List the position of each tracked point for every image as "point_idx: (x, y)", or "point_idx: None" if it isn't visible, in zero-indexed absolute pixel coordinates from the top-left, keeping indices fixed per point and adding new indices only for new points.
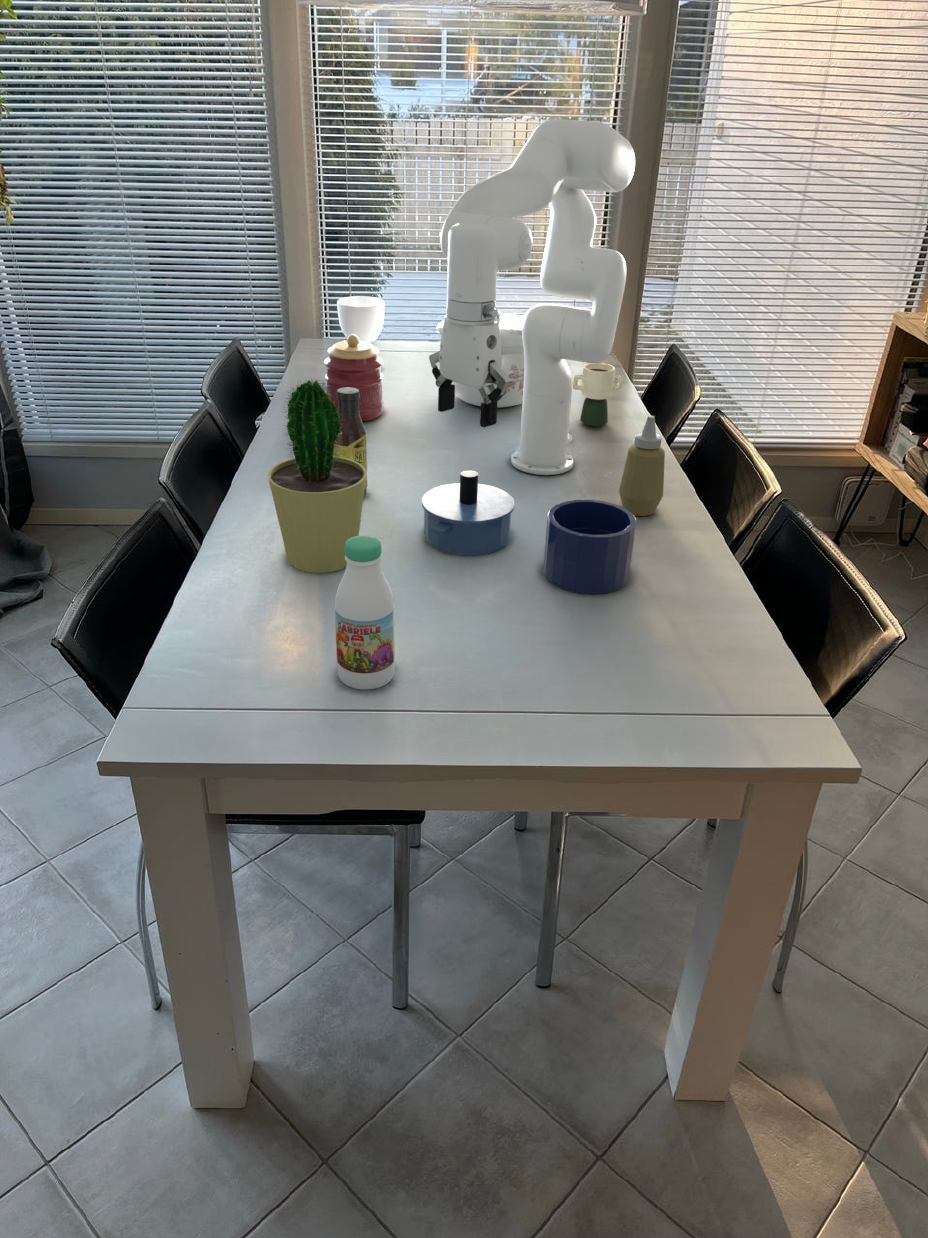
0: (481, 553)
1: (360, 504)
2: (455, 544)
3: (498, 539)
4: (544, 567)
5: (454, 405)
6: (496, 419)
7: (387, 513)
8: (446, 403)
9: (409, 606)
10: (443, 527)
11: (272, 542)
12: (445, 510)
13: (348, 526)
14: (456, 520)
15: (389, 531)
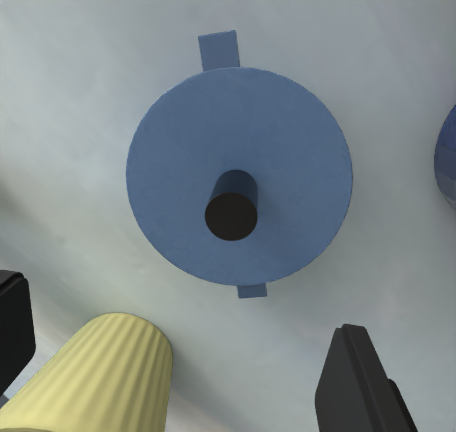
0: None
1: (151, 424)
2: None
3: None
4: (453, 204)
5: (17, 283)
6: (370, 339)
7: (66, 189)
8: (7, 354)
9: (311, 379)
10: (256, 285)
11: (47, 358)
12: (229, 258)
13: (164, 419)
14: (277, 279)
15: (126, 240)
